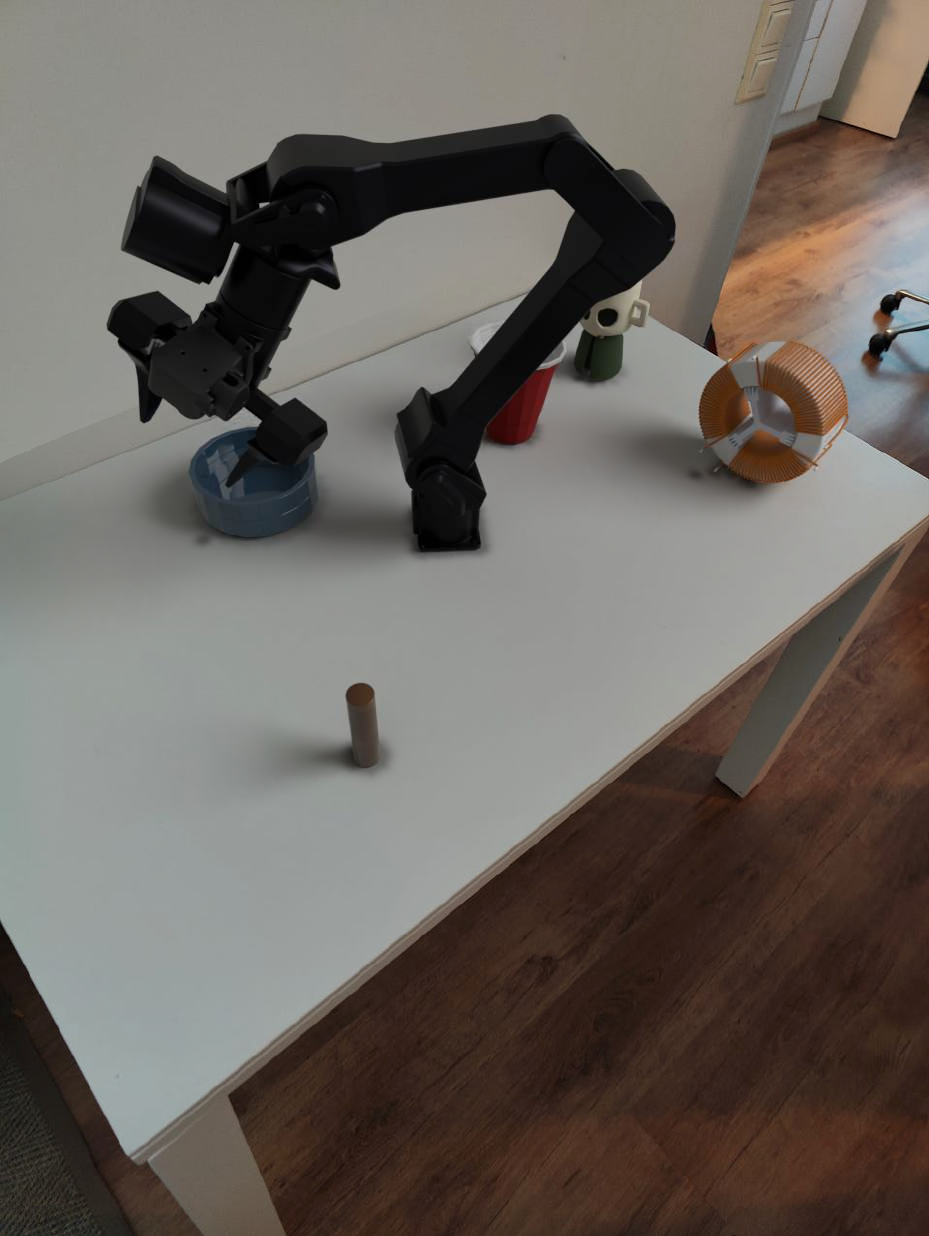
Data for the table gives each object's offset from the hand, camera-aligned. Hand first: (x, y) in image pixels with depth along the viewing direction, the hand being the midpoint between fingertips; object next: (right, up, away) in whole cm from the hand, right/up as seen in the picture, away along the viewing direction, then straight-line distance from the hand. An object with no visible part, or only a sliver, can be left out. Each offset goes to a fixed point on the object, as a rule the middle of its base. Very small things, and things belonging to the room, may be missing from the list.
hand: (187, 453), depth 73 cm
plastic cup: (+30, +8, +26) cm, 41 cm away
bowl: (+2, -2, +16) cm, 16 cm away
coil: (+58, +3, +22) cm, 62 cm away
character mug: (+42, +18, +35) cm, 57 cm away
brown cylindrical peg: (+17, -26, -4) cm, 31 cm away
